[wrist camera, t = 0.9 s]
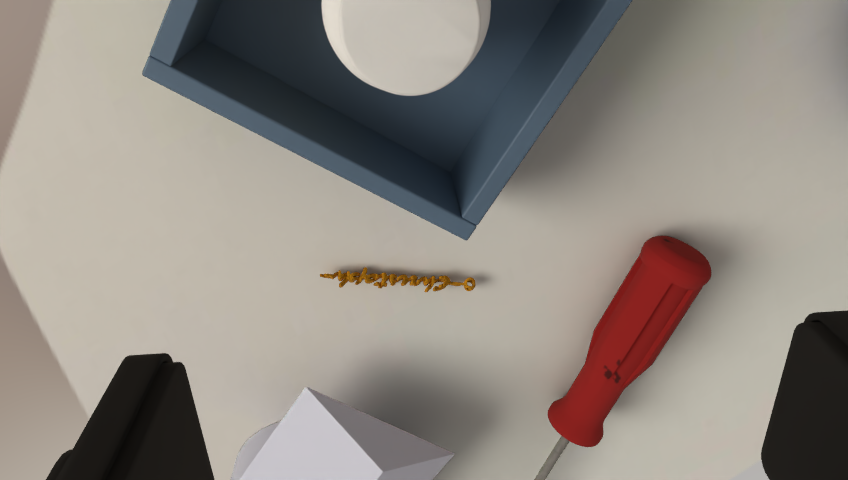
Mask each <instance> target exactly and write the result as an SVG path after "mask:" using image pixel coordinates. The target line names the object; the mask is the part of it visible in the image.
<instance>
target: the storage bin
mask: <svg viewBox="0 0 848 480" xmlns="http://www.w3.org/2000/svg"><path fill="white" fill-rule="evenodd" d="M631 2H632V0H491V12H490V21H489V26H488V30H487V33H486V36H485V39H484V41H483V44H482V46H481V48H480V50H479V51H478V53H477V55H476V56H475V58H474V59H473V61H472V62H471V63H470V64H469V65H468V67H467V68H466V69H465V70H464V71H463V72H462V73H461V74H460V75H459V76H458V77H457V78H456V79H455V80H453V81H452V82H451V83H449V84H448V85H446V86H445V87H443V88H441V89H439V90H437V91H434V92H431V93H428V94H423V95H416V96H405V95H397V94H393V93H389V92H386V91H384V90H381V89H378V88H376V87H373V86H371V85H369V84H367V83H365V82H364V81H362V80H361V79H359V78H358V77H357V76H355V75H354V74H353V73H352V72H351V71H350V70H349V69H347V67H346V66H345V65H344V64H343V63H342V62H341V60H340V59H339V58H338V56H337V55H336V53H335V51H334V50H333V48H332V46H331V44H330V42H329V40H328V37H327V34H326V31H325V27H324V24H323V17H322V7H321V5H322V0H171V1H170V4H169V6H168V9H167V11H166V14H165V16H164V19H163V21H162V24H161V26H160V29H159V31H158V34H157V36H156V39H155V41H154V44H153V46H152V49H151V51H150V56H149V57H148V60H147V62H146V65H145V67H144V70H143V72H142V75H143V76H145V77H147V78H149V79H151V80H153V81H155V82H157V83H159V84H161V85H163V86H164V87H166V88H168V89H170V90H172V91H174V92H176V93H178V94H180V95H182V96H184V97H186V98H188V99H190V100H192V101H194V102H196V103H198V104H200V105H202V106H204V107H206V108H208V109H210V110H211V111H213V112H215V113H217V114H219V115H221V116H223V117H225V118H227V119H229V120H231V121H233V122H235V123H237V124H239V125H241V126H243V127H245V128H247V129H249V130H251V131H253V132H255V133H257V134H258V135H260V136H262V137H264V138H266V139H268V140H270V141H272V142H274V143H276V144H278V145H280V146H282V147H284V148H286V149H288V150H290V151H292V152H294V153H296V154H298V155H300V156H302V157H304V158H306V159H307V160H309V161H311V162H313V163H315V164H317V165H319V166H321V167H323V168H325V169H327V170H329V171H331V172H333V173H335V174H337V175H339V176H341V177H343V178H345V179H347V180H349V181H351V182H353V183H354V184H356V185H358V186H360V187H362V188H364V189H366V190H368V191H370V192H372V193H374V194H376V195H378V196H380V197H382V198H384V199H386V200H388V201H390V202H392V203H394V204H396V205H398V206H400V207H402V208H403V209H405V210H407V211H409V212H411V213H413V214H415V215H417V216H419V217H421V218H423V219H425V220H427V221H429V222H431V223H433V224H435V225H437V226H439V227H441V228H443V229H445V230H447V231H449V232H450V233H452V234H454V235H456V236H458V237H460V238H462V239H464V240H468V239H469V237H470V236H471V234H472V233H473V231H474V230H475V228H476V225H478V224H479V223H480V221H481V220H482V218H483V217H484V215H485V214H486V212H487V211H488V209H489V208H490V207H491V205H492V204H493V202H494V201H495V199H496V198H497V196H498V195H499V193H500V192H501V191H502V189H503V188H504V186H505V185H506V183H507V182H508V180H509V179H510V178H511V176H512V175H513V173H514V172H515V170H516V169H517V167H518V166H519V164H520V163H521V162H522V160H523V159H524V157H525V156H526V154H527V153H528V151H529V150H530V148H531V147H532V146H533V144H534V143H535V141H536V140H537V138H538V137H539V135H540V134H541V132H542V131H543V130H544V128H545V127H546V125H547V124H548V122H549V121H550V119H551V118H552V116H553V115H554V114H555V112H556V111H557V109H558V108H559V106H560V105H561V103H562V102H563V100H564V99H565V98H566V96H567V95H568V93H569V92H570V90H571V89H572V87H573V86H574V84H575V83H576V82H577V80H578V79H579V77H580V76H581V74H582V73H583V71H584V70H585V69H586V67H587V66H588V64H589V63H590V61H591V60H592V58H593V57H594V55H595V54H596V53H597V51H598V50H599V48H600V47H601V45H602V44H603V42H604V41H605V39H606V38H607V37H608V35H609V34H610V32H611V31H612V29H613V28H614V26H615V25H616V23H617V22H618V21H619V19H620V18H621V16H622V15H623V13H624V12H625V10H626V9H627V7H628V6H629V5H630V3H631Z"/></svg>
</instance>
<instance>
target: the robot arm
mask: <svg viewBox="0 0 848 480" xmlns="http://www.w3.org/2000/svg"><path fill="white" fill-rule="evenodd" d="M761 459H762V464H763V467H764V470H765V473H766V474H767V476H768V478H769V479H770V480H848V311H833V312H817V313H812V314H809V315H808V316H807V317H806V319H805V321H804V323H801V324H798V325H797V326H796V328H795V330H794V333H793V337H792V341H791V344H790V348H789V352H788V355H787V359H786V363H785V366H784V370H783V374H782V377H781V381H780V385H779V388H778V392H777V396H776V399H775V403H774V407H773V410H772V414H771V418H770V421H769V425H768V429H767V432H766V436H765V440H764V443H763V447H762V452H761ZM46 480H214V476H213V473H212V469H211V465H210V461H209V457H208V453H207V450H206V446H205V442H204V438H203V434H202V430H201V427H200V423H199V419H198V415H197V411H196V408H195V404H194V400H193V396H192V392H191V388H190V385H189V381H188V377H187V373H186V370H185V367H184V365H183V364H182V363H181V362H174V363H173V361H172V358H171V357H170V356H169V354H166V353H162V354H146V355H130V356H127V357H125V359H124V360H123V361H122V363H121V365H120V366H119V368H118V370H117V372H116V374H115V375H114V377H113V379H112V381H111V382H110V384H109V386H108V388H107V390H106V391H105V393H104V395H103V397H102V398H101V400H100V402H99V404H98V405H97V407H96V409H95V411H94V413H93V414H92V416H91V418H90V420H89V421H88V423H87V425H86V427H85V429H84V430H83V432H82V434H81V436H80V437H79V439H78V441H77V443H76V444H75V447H74V448H73V450H69V451H67V452H66V453H64V454H62V456H61V457H60V458H59V459H58V461H57V462H56V463H55V465H54V467H53V468H52V470H51V472H50V474H49V476H48V477H47V479H46Z"/></svg>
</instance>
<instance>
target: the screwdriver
mask: <svg viewBox="0 0 848 480" xmlns="http://www.w3.org/2000/svg"><path fill="white" fill-rule="evenodd" d="M710 277H711V267H710V264H709V262H708V260H707V259H706V257H705V256H704V255H703V254H701V253H700V252H699V251H698V250H696V249H695V248H693V247H692V246H690V245H688V244H686V243H684V242H682V241H680V240H678V239H675V238H672V237H668V236H656V237H652V238H651V239H649V240H647V241H646V242H645V244H644V245H643V247H642V250H641V253H640V255H639V257H638V258H637V260H636V261H635V263H634V265H633V266H632V268H631V270H630V271H629V273H628V275H627V276H626V278H625V280H624V281H623V283H622V285H621V286H620V288H619V290H618V291H617V293H616V295H615V296H614V298H613V300H612V301H611V303H610V305H609V306H608V308H607V309H606V311H605V313H604V314H603V316H602V318H601V319H600V321H599V323H598V324H597V326H596V328H595V329H594V332H593V336H592V340H591V343H590V347H589V351H588V354H587V358H586V362H585V365H584V366H583V368H582V370H581V371H580V373H579V374H578V376H577V378H576V379H575V381H574V383H573V384H572V386H571V388H570V389H569V391H568V393H567V394H566V396H564V397H563V398H561V399H559V400H556V401H554V402H553V403H552V405H551V406H550V408H549V410H548V418H549V421H550V423H551V424H552V426H553V427H554V428H555V430H556V431H557V432H558V433H559V434H560V435H562V436H561V438H560V439H559V441H558V442H557V444H556V446H555V447H554V449H553V450H552V452H551V454H550V455H549V457H548V458H547V460H546V462H545V463H544V465H543V466H542V468H541V470H540V471H539V473H538V475H537V476H536V478H535V479H534V480H545V479H546V477H547V476H548V474H549V473H550V471H551V469H552V468H553V466H554V465H555V463H556V462H557V460H558V458H559V457H560V455H561V454H562V452H563V450H564V449H565V447H566V446H567V444H568V443H569V441H570V442H572V443H574V444H577V445H580V446H584V447H593V446H596V445H597V444H598V443H599V442H600V440H601V439H602V437H603V422H604V420H605V418H606V417H607V415H608V413H609V412H610V410H611V409H612V407H613V406H614V404H615V403H616V401H617V399H618V398H619V396H620V395H621V393H622V392H623V390H624V389H625V388H626V387H627V386H628V385H629V384H630V383H632V382H633V381H634V380H635V379H636V378H637V377H638V376H640V375H641V374H642V373H643V372H644V371H645V370H646V369H647V368H649V367H650V366H651V365H652V364H653V362H654V361H655V359H656V358H657V356H658V355H659V353H660V352H661V350H662V349H663V347H664V345H665V344H666V342H667V341H668V339H669V338H670V336H671V335H672V333H673V332H674V330H675V329H676V327H677V326H678V324H679V322H680V321H681V319H682V318H683V316H684V315H685V313H686V312H687V310H688V309H689V307H690V306H691V304H692V302H693V301H694V299H695V298H696V296H697V295H698V293H699V292H700V290H701V289H702V287H703V285H705V284H706V283H707V282H708V281H709V280H710Z"/></svg>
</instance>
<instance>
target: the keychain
mask: <svg viewBox="0 0 848 480" xmlns="http://www.w3.org/2000/svg"><path fill="white" fill-rule="evenodd" d="M366 274H367V268H366V267H365V268H364V269H363V271H362V274H361V275H360V273H358V272H354V273H352V274H350V272H349V271H347V272H346V273H343V274H342V273H341V271H340V270H339V272H336V273H334V274H333V275H332V274H324V275H323V274H320V277H324V278H331V279H334V278H335V277H336V276H338V280H339V281H342V280H343V279H344V280H343V281H342V282H341V283H340V284H339V287H343V286H344V285H345V284H346V283H347V282H348V281H349V282H354V281H355V280H357V281H356V283H355V284H356V285H358V284H359V283H361V282H362V280H363V279H365V282H366V283H372V282H374V281H376V280H378V279H379V278H382V281H381V282H380V283H379V282H376V283H374V286H378V288H382V287H383V286H384V287H386V286H387V283H386V281H387V280H388V279H389V282H390V283H391V286H393V285H395V283H396V282H398V281H400V280H403V281H402V283H401V285H402V286H404V285H406V284H407V282H409V281H411V280H412V281H411V282H410V285H414V286H417V285H419V284H420V282H422V281H423V284H424V286H426V285H428V284H429V285H428V287H427V288H426V289H425V292H428V291H429V290H430V289H431V288H432V286H433V285H434V283H436V282H444V283H443V284H441V285H439V287H438V286H435V287H434V288H433V291H438V290H442V289H444V288H445V287H446V286H447V285H448V284H449V285H454V286H460V285H464V288H465V290H467V291H471V290H473V289H474V287H475V280H474V279H473V278H471V277H469V278H467V279H466V280H465V281H464V283H461V282H451V281H450V278H449V277H448V276H440V277H439V279H435V276H432V277H431V278H429V279H427V277H425V276H424V277H421V278H420V279H418V277H417V276H416V275H412V276H411V277H410V278H408V277H407V275H405V274H403V275H400V276H399V277H398V278H397V275H395V274H390V275H389V276H387V274H386V273H382V274H379V275H378V274H374V273H372V274H369V275H366ZM357 276H359V277H357ZM371 278H373V279H371ZM395 279H396V280H395ZM417 279H418V280H417ZM416 280H417V282H416ZM467 282H470V283H472V286H468V285H467Z"/></svg>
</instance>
